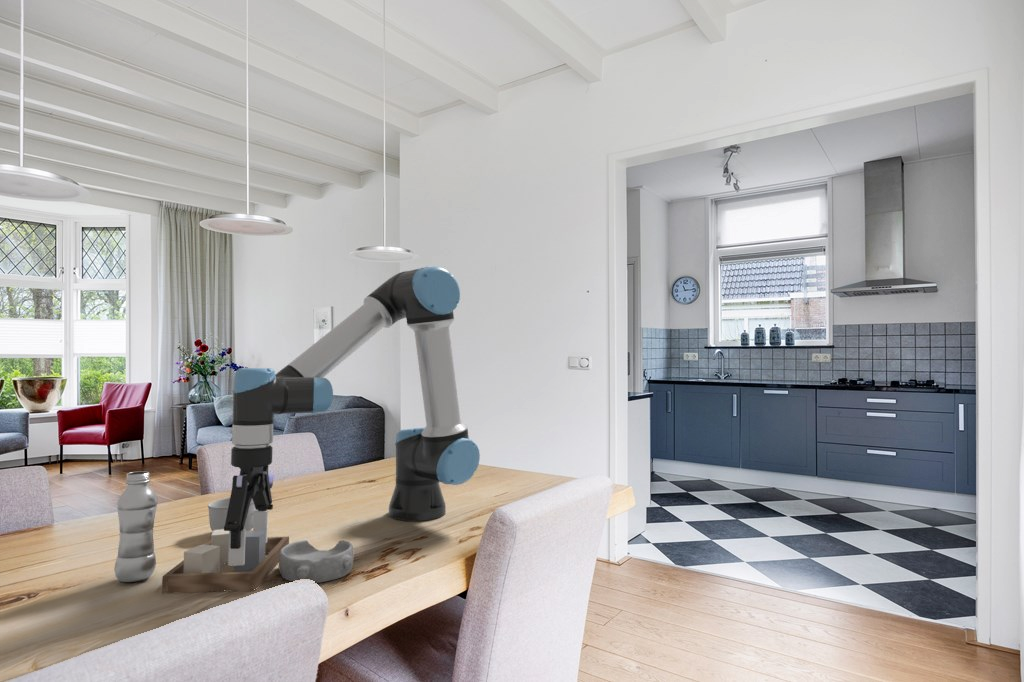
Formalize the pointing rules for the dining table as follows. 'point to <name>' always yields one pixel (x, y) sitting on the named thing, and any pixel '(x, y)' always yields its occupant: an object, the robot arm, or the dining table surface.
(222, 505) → the teacup
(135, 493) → the plastic bottle
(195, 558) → the white block
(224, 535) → the white block
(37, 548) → the dining table surface
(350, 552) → the dish
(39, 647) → the dining table surface
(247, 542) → the gray block
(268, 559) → the parts tray
